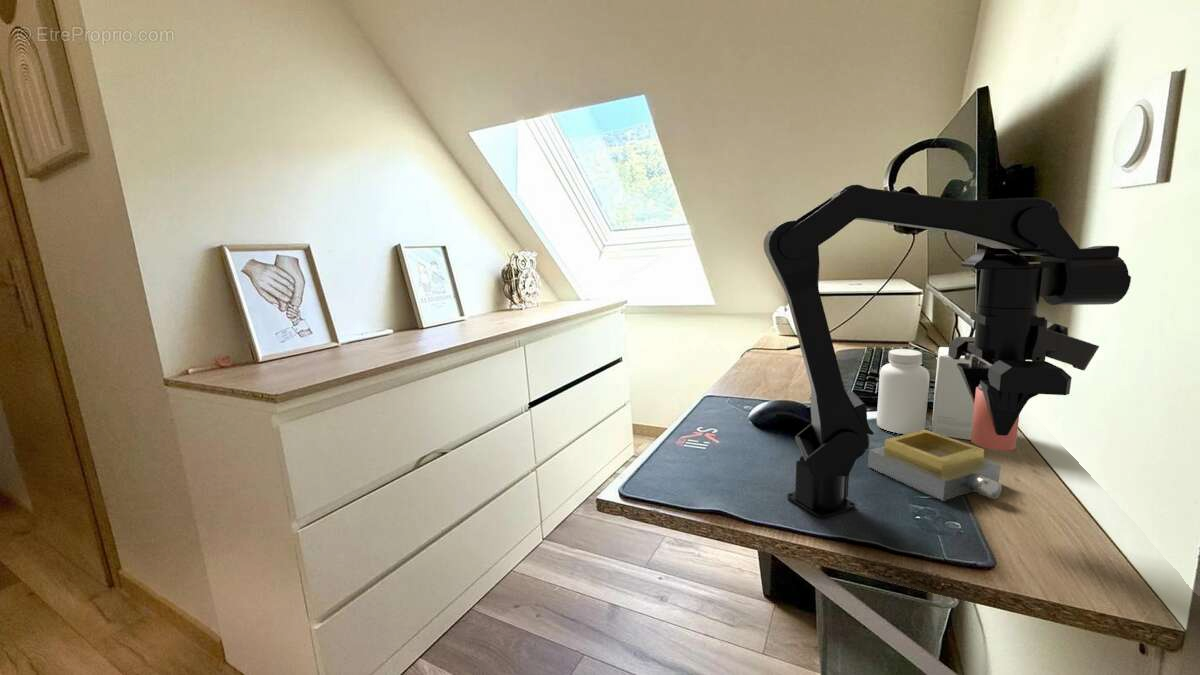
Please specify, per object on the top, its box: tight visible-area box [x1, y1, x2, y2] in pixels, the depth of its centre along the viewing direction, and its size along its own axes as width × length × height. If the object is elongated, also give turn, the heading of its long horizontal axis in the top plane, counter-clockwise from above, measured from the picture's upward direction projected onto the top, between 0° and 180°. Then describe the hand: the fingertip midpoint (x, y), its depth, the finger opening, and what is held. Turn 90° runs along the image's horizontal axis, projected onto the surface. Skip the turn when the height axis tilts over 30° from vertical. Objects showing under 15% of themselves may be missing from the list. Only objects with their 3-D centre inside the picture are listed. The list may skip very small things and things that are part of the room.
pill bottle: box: [876, 348, 931, 434], centre depth 93 cm, size 8×8×15 cm
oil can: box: [970, 384, 1020, 451], centre depth 63 cm, size 4×4×7 cm
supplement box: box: [931, 346, 974, 441], centre depth 91 cm, size 9×9×15 cm
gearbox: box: [867, 429, 1002, 502], centre depth 75 cm, size 12×15×5 cm
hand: (993, 427), depth 63 cm, fingers closed on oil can, 4 cm apart
